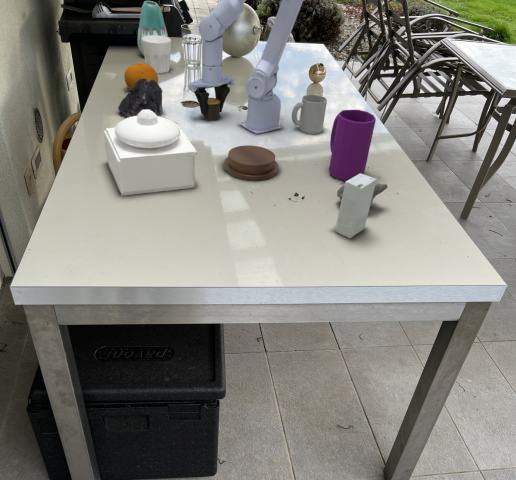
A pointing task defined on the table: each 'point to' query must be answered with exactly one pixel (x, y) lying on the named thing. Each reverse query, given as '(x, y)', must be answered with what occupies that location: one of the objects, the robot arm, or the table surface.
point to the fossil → (377, 190)
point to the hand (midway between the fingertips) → (211, 112)
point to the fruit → (139, 74)
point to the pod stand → (251, 163)
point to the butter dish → (149, 155)
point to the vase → (150, 23)
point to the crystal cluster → (142, 99)
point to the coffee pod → (213, 109)
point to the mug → (350, 143)
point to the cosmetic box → (355, 205)
